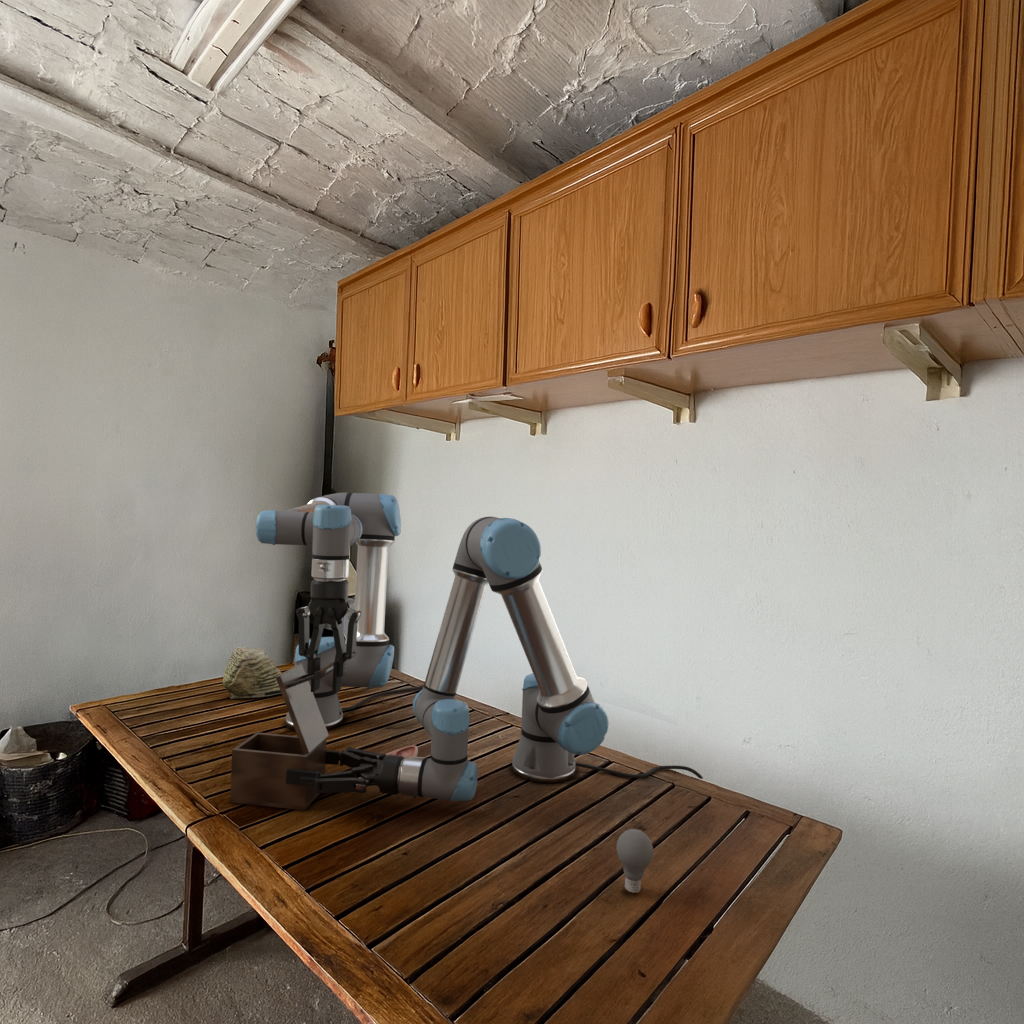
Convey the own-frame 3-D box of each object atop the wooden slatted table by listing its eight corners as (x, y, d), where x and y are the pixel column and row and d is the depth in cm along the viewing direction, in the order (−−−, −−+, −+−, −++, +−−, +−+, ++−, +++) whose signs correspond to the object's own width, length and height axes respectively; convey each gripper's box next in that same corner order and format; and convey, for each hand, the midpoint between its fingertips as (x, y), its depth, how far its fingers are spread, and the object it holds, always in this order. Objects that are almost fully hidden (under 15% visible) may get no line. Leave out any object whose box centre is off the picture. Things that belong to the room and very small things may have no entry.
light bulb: (610, 879, 108) (613, 822, 108) (644, 879, 109) (647, 822, 109) (619, 902, 102) (622, 840, 102) (655, 901, 103) (658, 840, 103)
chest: (230, 802, 130) (231, 749, 129) (255, 781, 139) (256, 732, 139) (304, 810, 128) (306, 756, 128) (324, 788, 138) (326, 738, 137)
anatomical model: (351, 756, 145) (372, 738, 156) (350, 773, 145) (371, 754, 156) (406, 763, 142) (423, 744, 154) (405, 780, 143) (422, 760, 154)
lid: (275, 677, 128) (314, 662, 127) (297, 664, 138) (333, 651, 137) (304, 754, 128) (343, 740, 127) (324, 736, 137) (361, 723, 136)
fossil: (218, 695, 195) (220, 647, 195) (278, 685, 208) (279, 640, 207) (228, 703, 189) (230, 653, 188) (289, 692, 201) (290, 645, 201)
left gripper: (282, 578, 129) (278, 693, 129) (363, 583, 127) (358, 699, 127) (299, 574, 136) (295, 682, 137) (375, 579, 134) (371, 688, 135)
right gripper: (383, 820, 119) (271, 808, 122) (415, 770, 142) (320, 761, 144) (385, 781, 119) (273, 770, 122) (417, 737, 141) (321, 728, 144)
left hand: (325, 690), depth 132 cm, fingers open, 4 cm apart
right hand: (298, 765), depth 133 cm, fingers closed on chest, 10 cm apart
